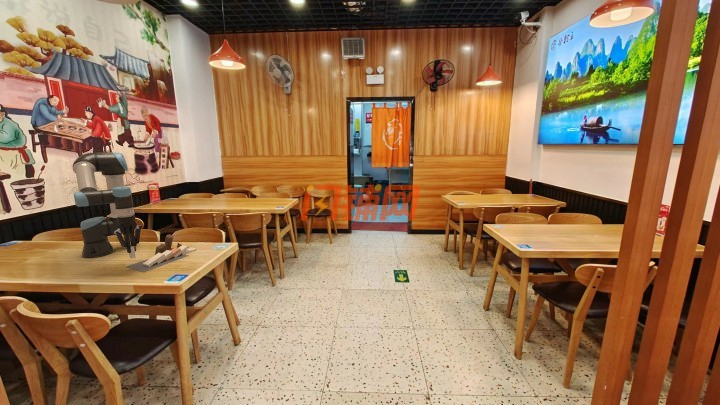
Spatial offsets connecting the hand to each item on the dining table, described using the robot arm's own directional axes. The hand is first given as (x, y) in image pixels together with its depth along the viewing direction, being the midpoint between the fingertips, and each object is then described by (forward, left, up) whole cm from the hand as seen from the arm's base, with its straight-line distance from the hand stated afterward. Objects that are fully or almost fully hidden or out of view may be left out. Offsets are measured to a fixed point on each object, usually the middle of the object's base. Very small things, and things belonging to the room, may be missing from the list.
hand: (132, 257), depth 157 cm
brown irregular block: (-15, +28, -9) cm, 33 cm away
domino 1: (0, +6, -7) cm, 9 cm away
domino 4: (0, +21, -7) cm, 22 cm away
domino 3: (0, +16, -7) cm, 17 cm away
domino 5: (0, +26, -7) cm, 27 cm away
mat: (-2, +14, -8) cm, 16 cm away
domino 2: (0, +11, -7) cm, 13 cm away
